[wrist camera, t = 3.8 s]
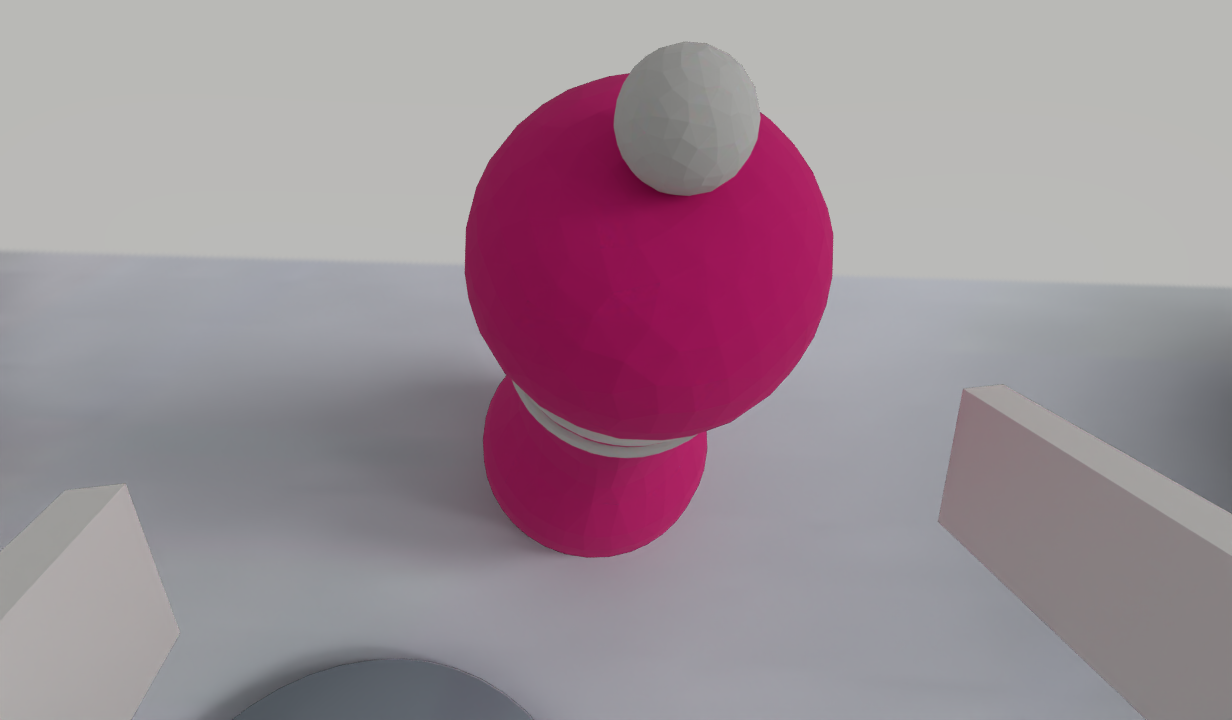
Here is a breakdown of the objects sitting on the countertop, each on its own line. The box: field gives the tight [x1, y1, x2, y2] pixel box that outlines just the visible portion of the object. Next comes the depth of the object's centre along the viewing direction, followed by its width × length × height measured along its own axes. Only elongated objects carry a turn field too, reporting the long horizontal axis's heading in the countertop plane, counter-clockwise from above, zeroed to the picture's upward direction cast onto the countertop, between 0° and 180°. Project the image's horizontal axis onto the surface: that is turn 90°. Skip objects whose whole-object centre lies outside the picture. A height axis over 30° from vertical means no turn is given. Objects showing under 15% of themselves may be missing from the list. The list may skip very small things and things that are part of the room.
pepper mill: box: [465, 42, 833, 557], centre depth 16 cm, size 7×7×20 cm
